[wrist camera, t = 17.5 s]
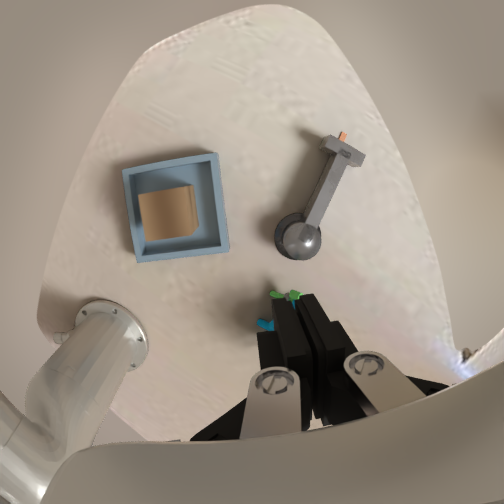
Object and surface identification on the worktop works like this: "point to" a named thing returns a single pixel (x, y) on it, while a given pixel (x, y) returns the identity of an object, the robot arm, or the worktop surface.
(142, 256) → the tray
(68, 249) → the worktop surface
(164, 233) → the block
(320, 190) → the lever
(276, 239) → the pivot base
